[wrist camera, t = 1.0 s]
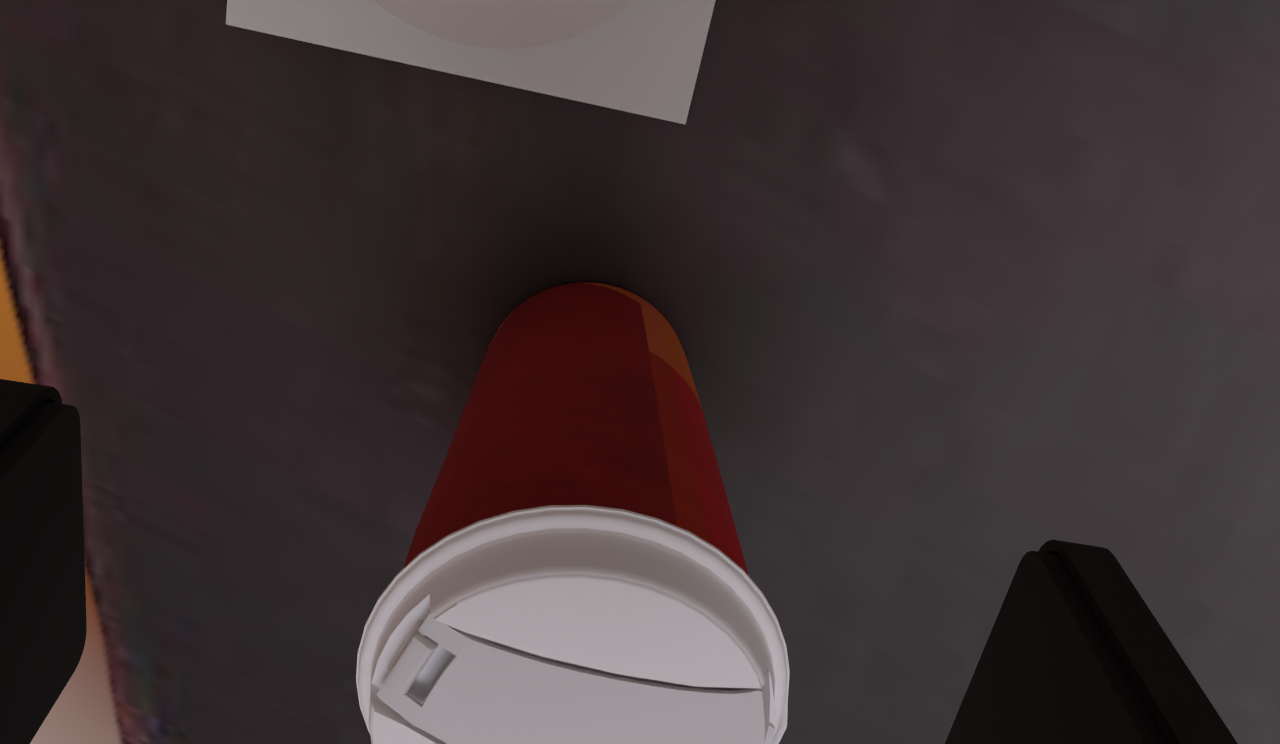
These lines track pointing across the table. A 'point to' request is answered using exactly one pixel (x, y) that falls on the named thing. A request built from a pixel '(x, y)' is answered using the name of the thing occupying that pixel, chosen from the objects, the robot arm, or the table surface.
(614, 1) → the lid
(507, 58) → the mat
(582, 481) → the coffee cup
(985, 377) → the table surface
